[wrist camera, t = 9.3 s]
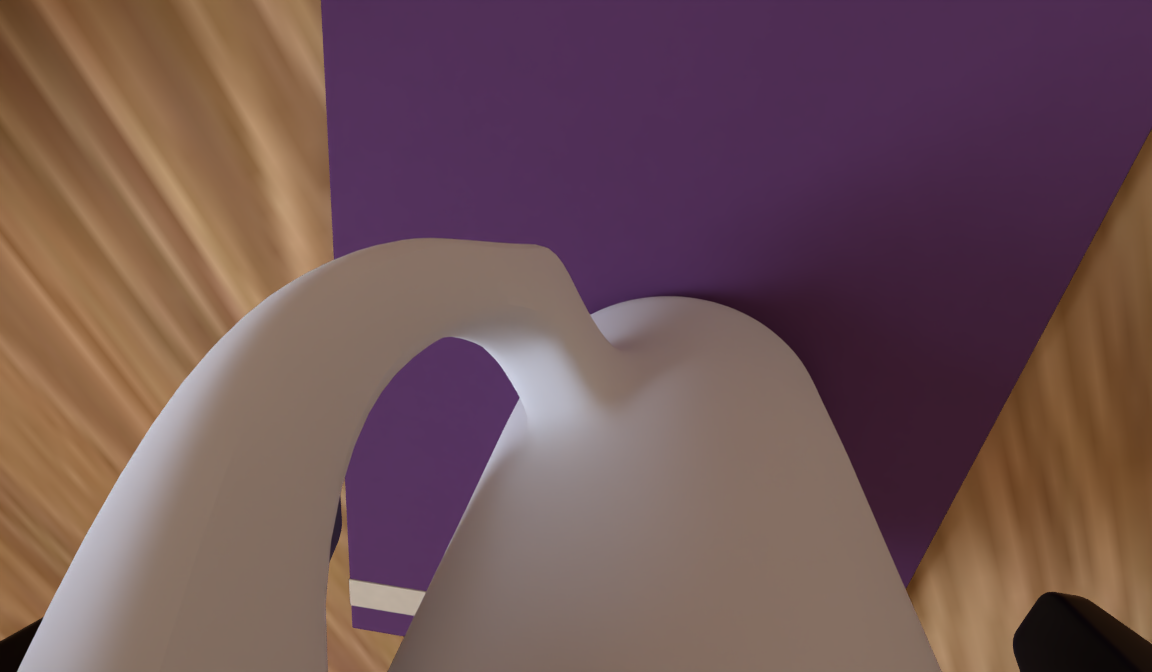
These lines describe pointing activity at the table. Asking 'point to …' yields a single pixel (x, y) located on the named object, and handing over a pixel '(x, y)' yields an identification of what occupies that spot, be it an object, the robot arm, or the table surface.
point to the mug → (496, 491)
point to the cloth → (732, 210)
